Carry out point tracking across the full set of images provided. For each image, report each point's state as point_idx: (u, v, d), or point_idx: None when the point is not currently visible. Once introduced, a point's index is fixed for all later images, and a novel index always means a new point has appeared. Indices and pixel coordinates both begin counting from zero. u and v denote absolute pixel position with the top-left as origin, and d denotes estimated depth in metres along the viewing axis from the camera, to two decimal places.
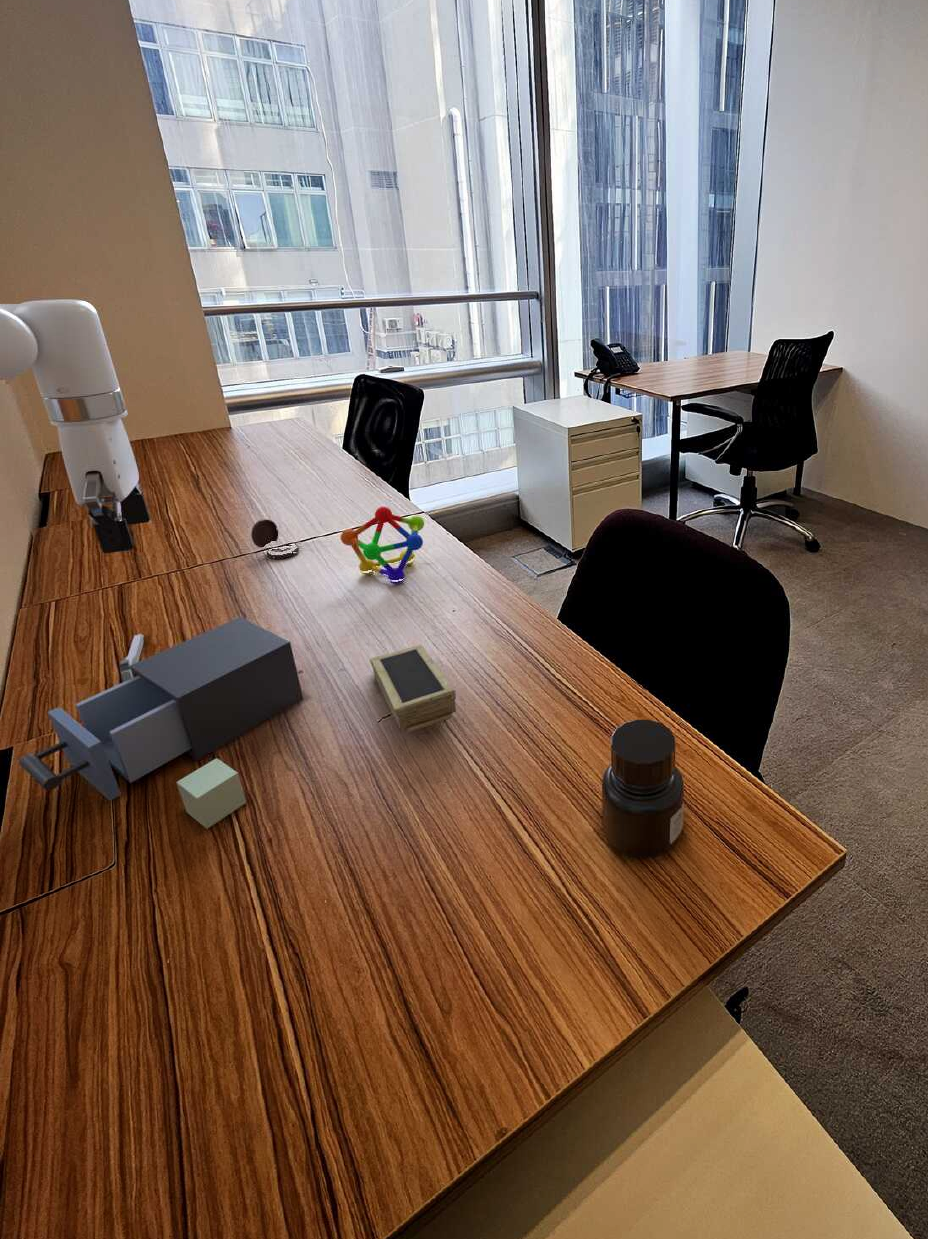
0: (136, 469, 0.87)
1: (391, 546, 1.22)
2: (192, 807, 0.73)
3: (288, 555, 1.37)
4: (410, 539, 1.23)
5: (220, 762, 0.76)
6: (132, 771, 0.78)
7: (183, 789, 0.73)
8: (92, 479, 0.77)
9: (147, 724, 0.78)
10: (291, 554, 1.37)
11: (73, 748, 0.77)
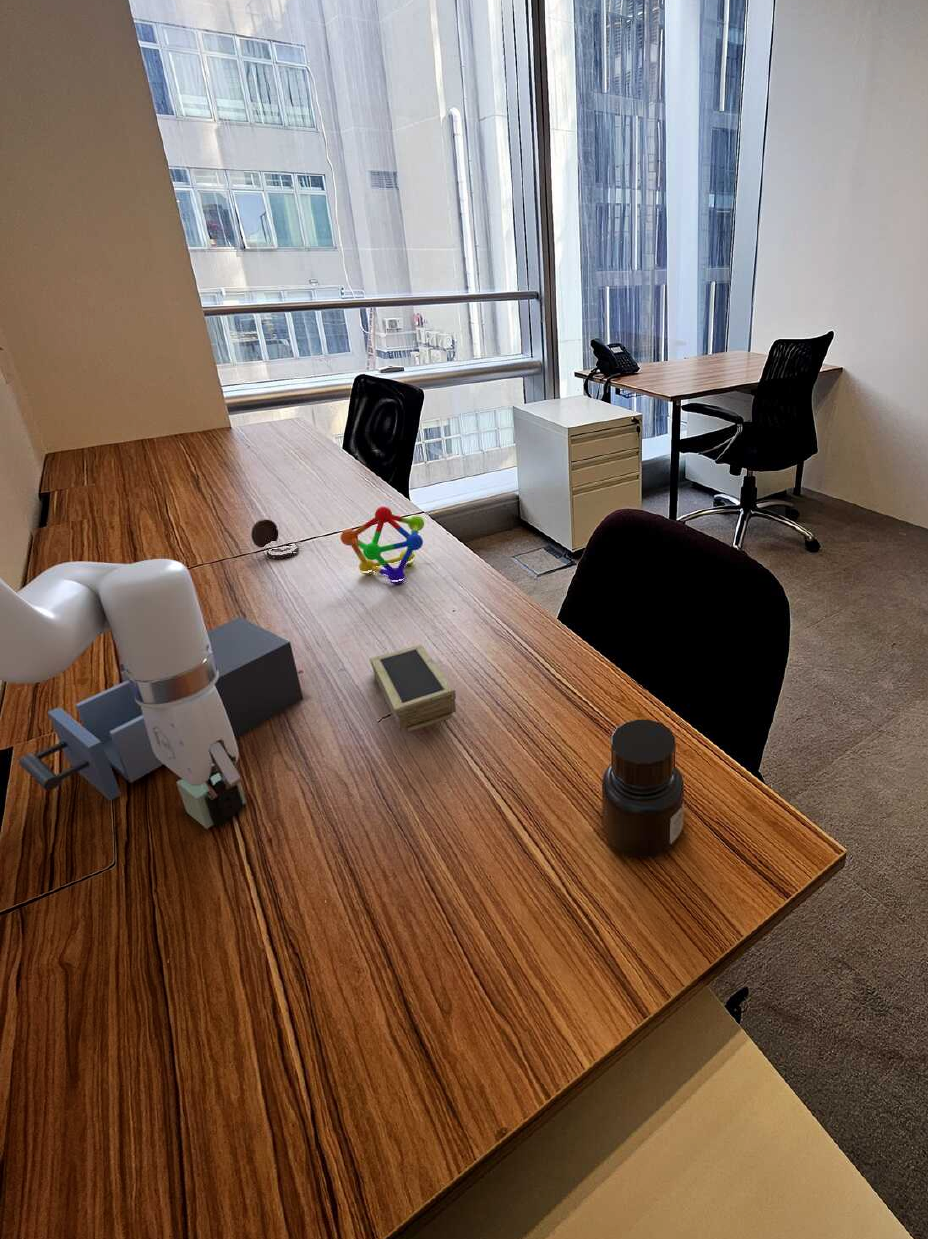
0: None
1: (391, 546, 1.22)
2: (192, 807, 0.73)
3: (288, 555, 1.37)
4: (410, 539, 1.23)
5: None
6: (132, 771, 0.78)
7: (183, 789, 0.73)
8: (221, 757, 0.69)
9: None
10: (291, 554, 1.37)
11: (73, 748, 0.77)
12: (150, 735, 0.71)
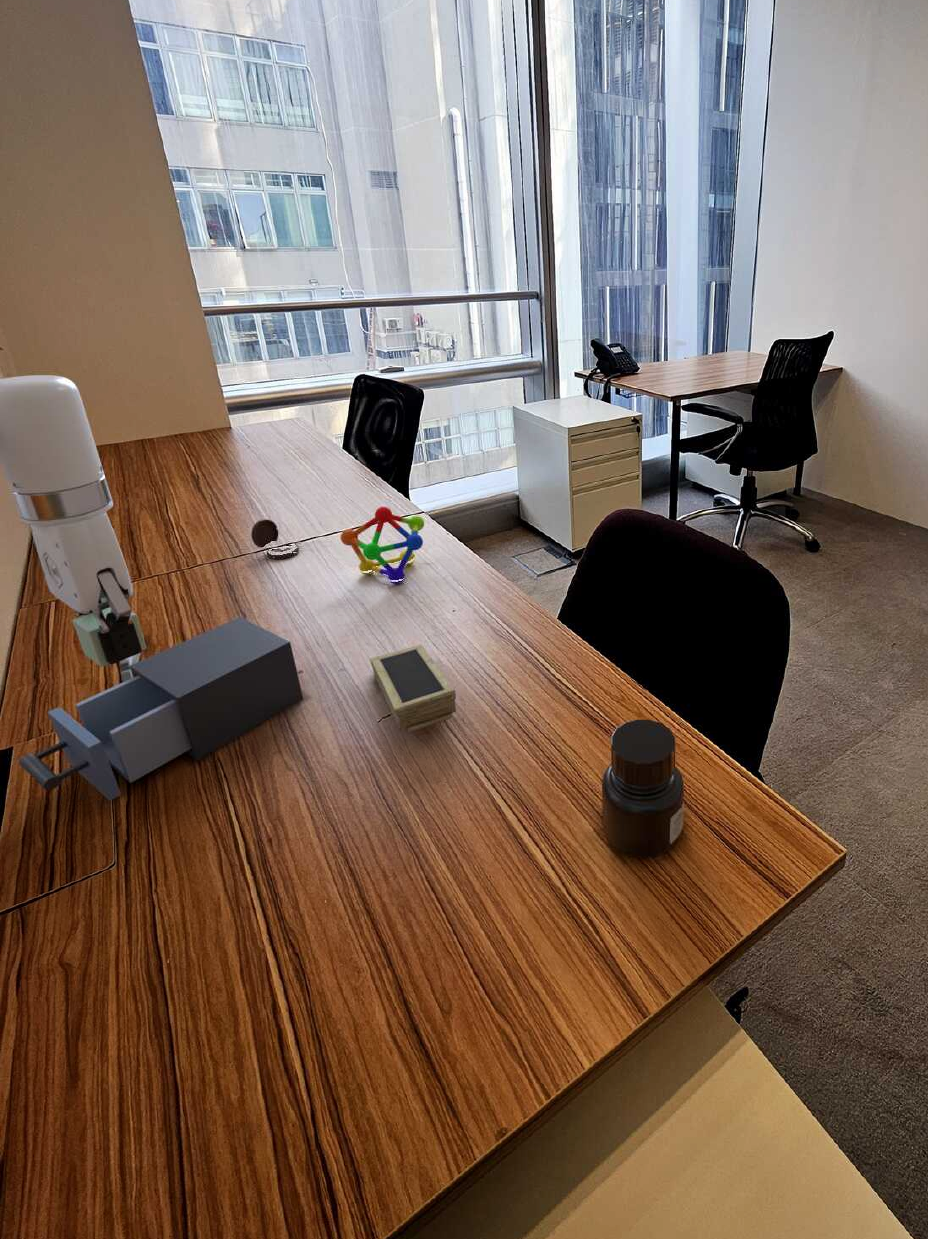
0: None
1: (391, 546, 1.22)
2: (87, 645, 0.72)
3: (288, 555, 1.37)
4: (410, 539, 1.23)
5: None
6: (132, 771, 0.78)
7: (78, 625, 0.71)
8: (110, 585, 0.68)
9: (147, 724, 0.78)
10: (291, 554, 1.37)
11: (73, 748, 0.77)
12: (43, 567, 0.70)
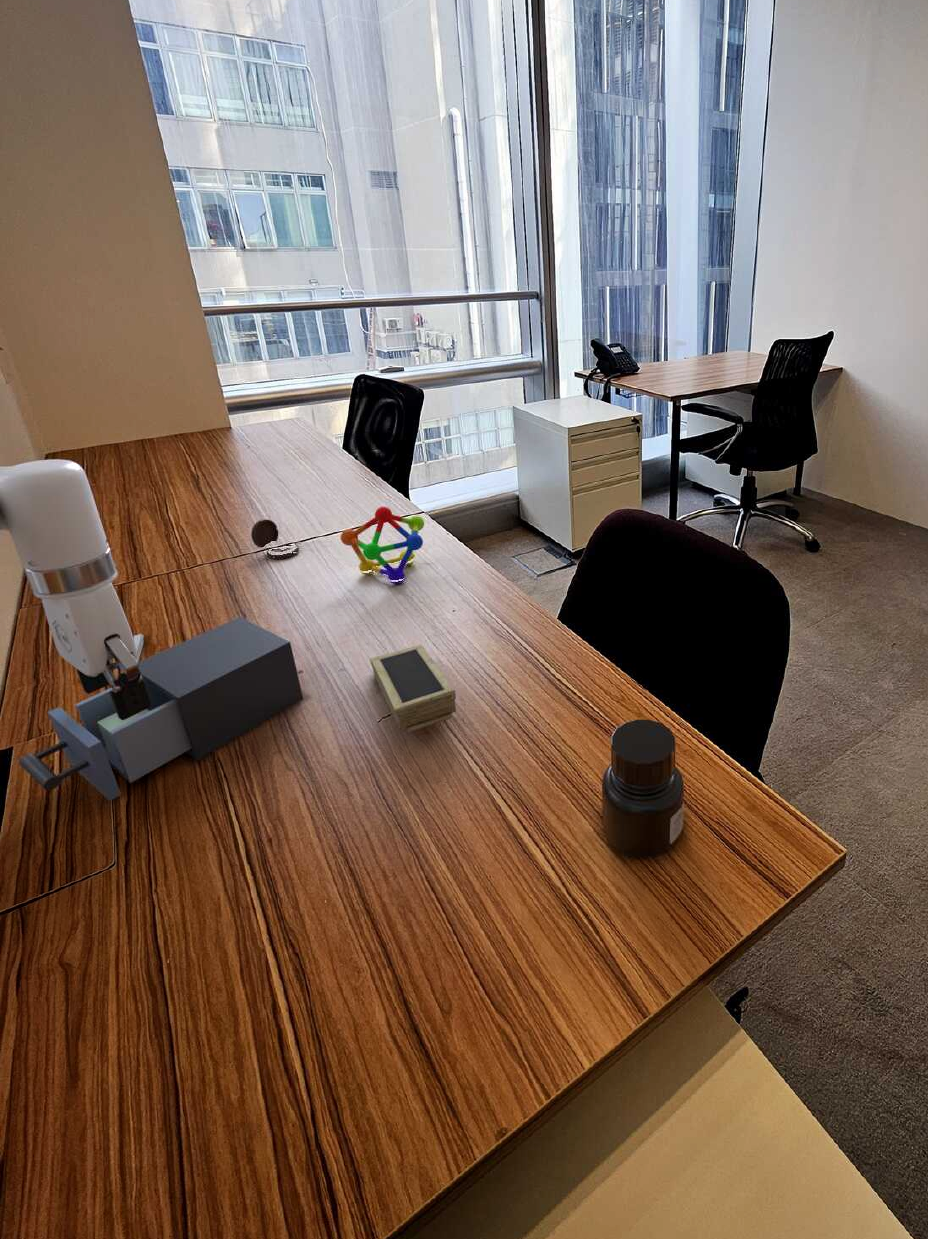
0: None
1: (391, 546, 1.22)
2: (111, 745, 0.80)
3: (288, 555, 1.37)
4: (410, 539, 1.23)
5: None
6: (132, 771, 0.78)
7: (103, 728, 0.79)
8: (116, 645, 0.73)
9: (147, 724, 0.78)
10: (291, 554, 1.37)
11: (73, 748, 0.77)
12: (52, 632, 0.75)
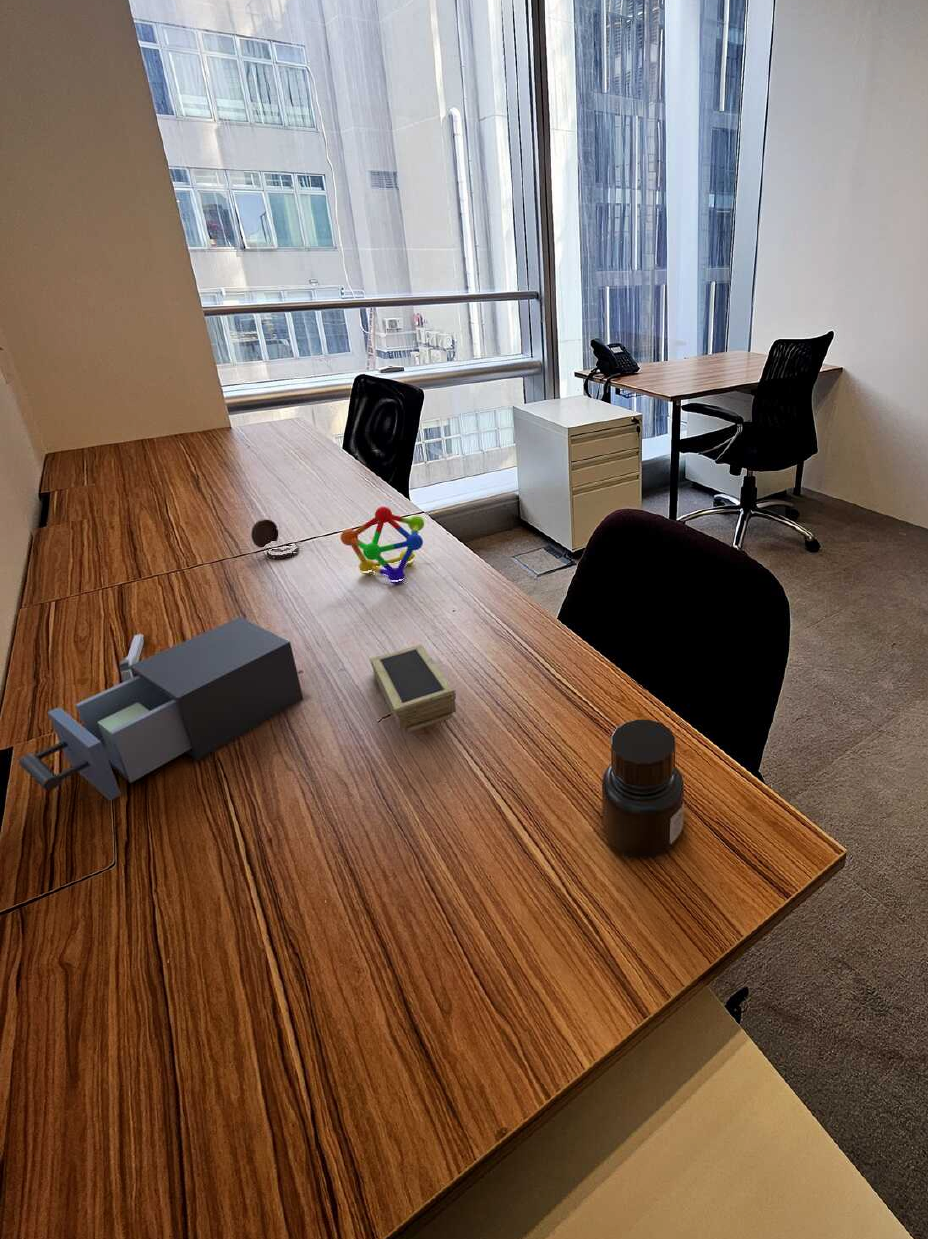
0: None
1: (391, 546, 1.22)
2: (111, 745, 0.80)
3: (288, 555, 1.37)
4: (410, 539, 1.23)
5: (140, 706, 0.83)
6: (132, 771, 0.78)
7: (103, 728, 0.79)
8: None
9: (147, 724, 0.78)
10: (291, 554, 1.37)
11: (73, 748, 0.77)
12: None
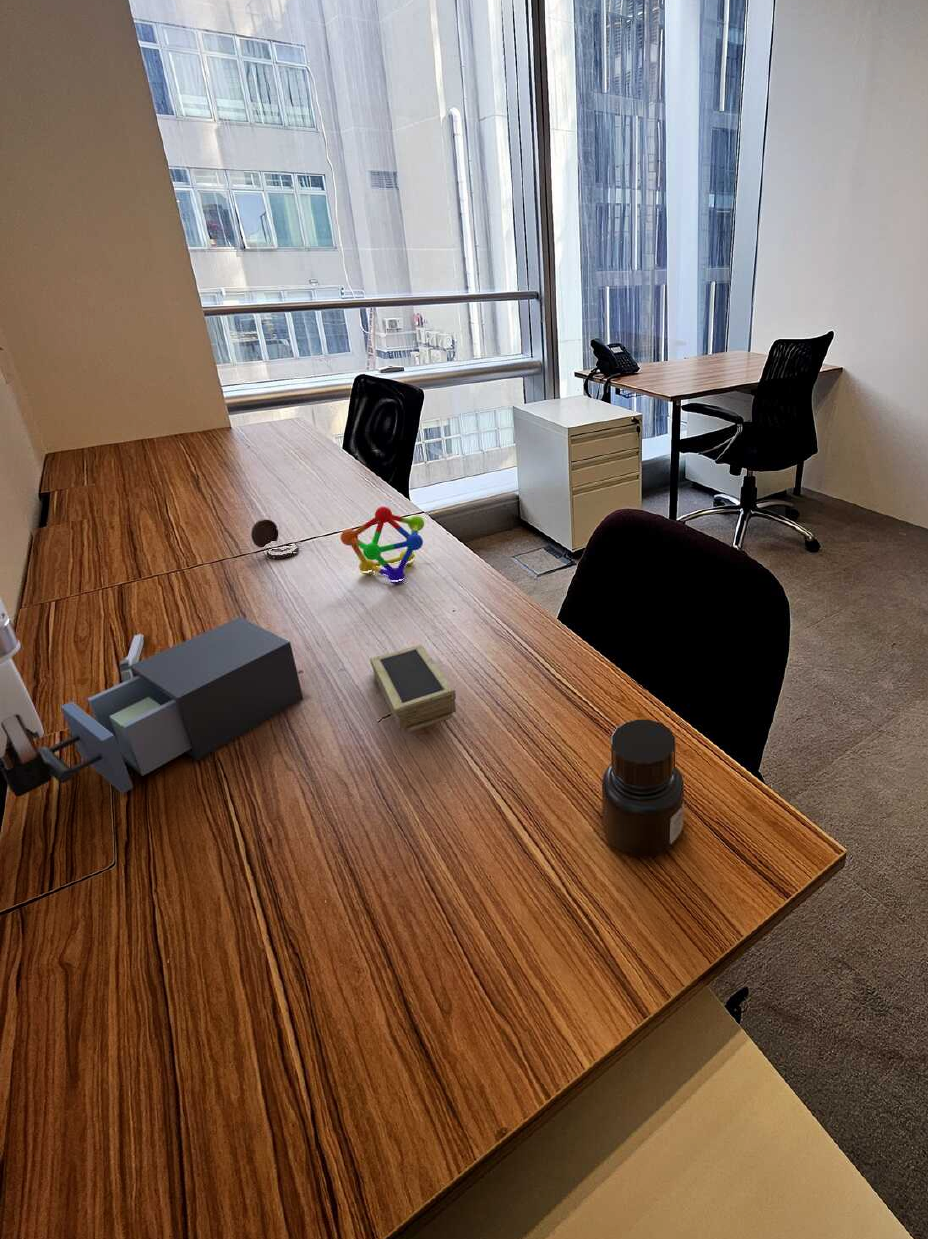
0: None
1: (391, 546, 1.22)
2: (123, 738, 0.81)
3: (288, 555, 1.37)
4: (410, 539, 1.23)
5: (151, 700, 0.84)
6: (144, 764, 0.79)
7: (115, 722, 0.80)
8: (17, 734, 0.68)
9: (159, 718, 0.79)
10: (291, 554, 1.37)
11: (86, 742, 0.78)
12: None
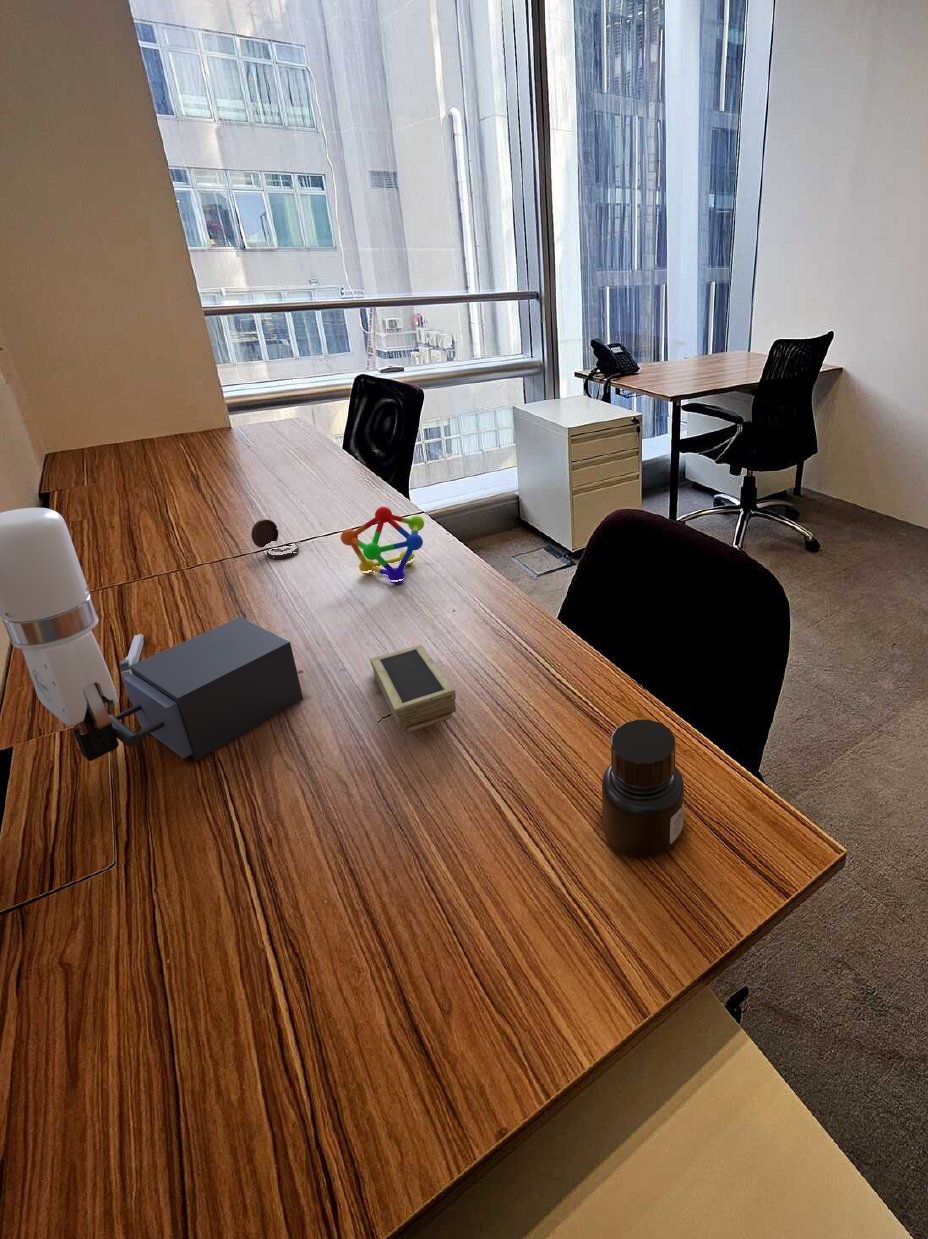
0: None
1: (391, 546, 1.22)
2: None
3: (288, 555, 1.37)
4: (410, 539, 1.23)
5: None
6: None
7: None
8: (95, 701, 0.73)
9: None
10: (291, 554, 1.37)
11: (148, 710, 0.83)
12: (32, 679, 0.75)
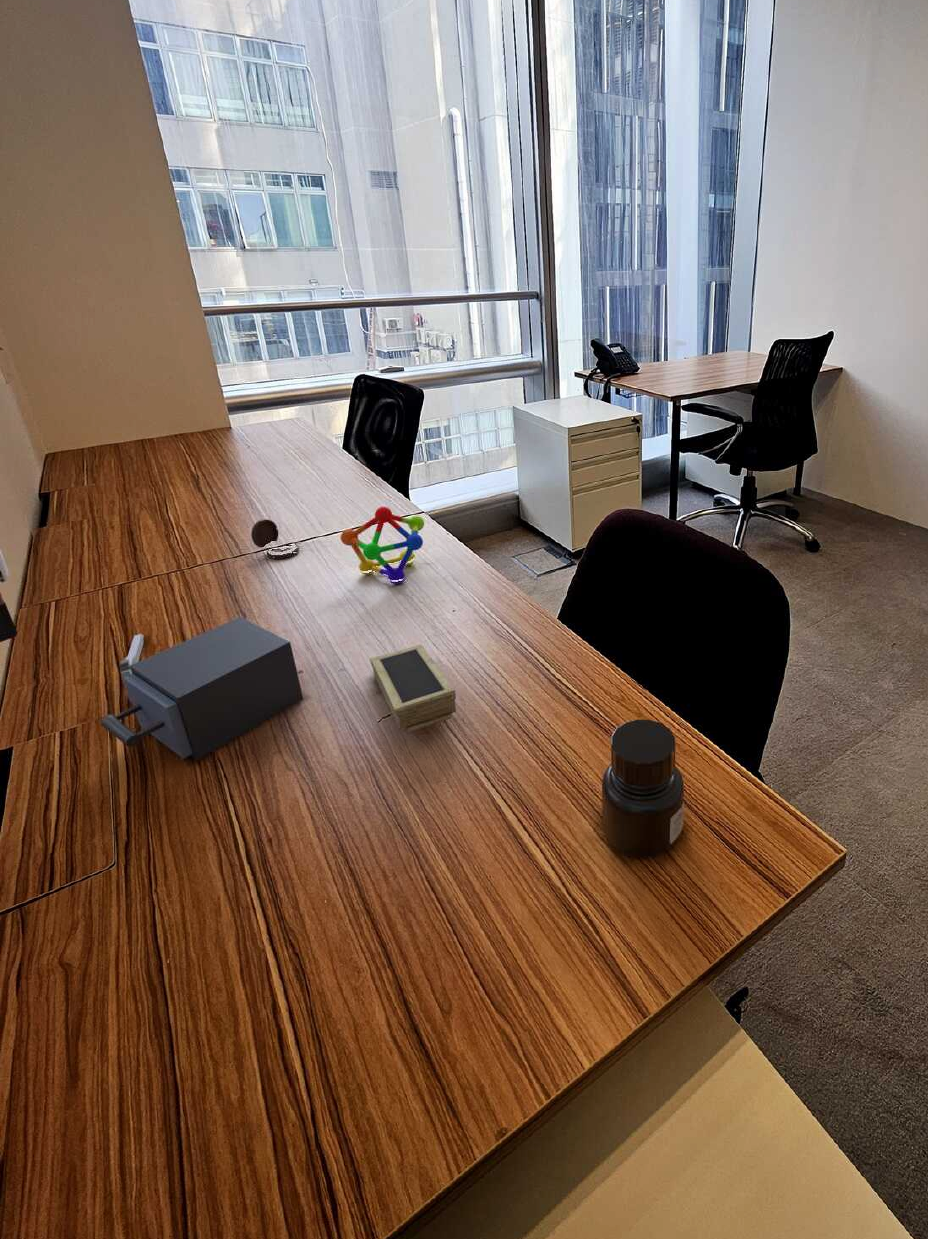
0: None
1: (391, 546, 1.22)
2: None
3: (288, 555, 1.37)
4: (410, 539, 1.23)
5: None
6: None
7: None
8: None
9: None
10: (291, 554, 1.37)
11: (148, 710, 0.83)
12: None
